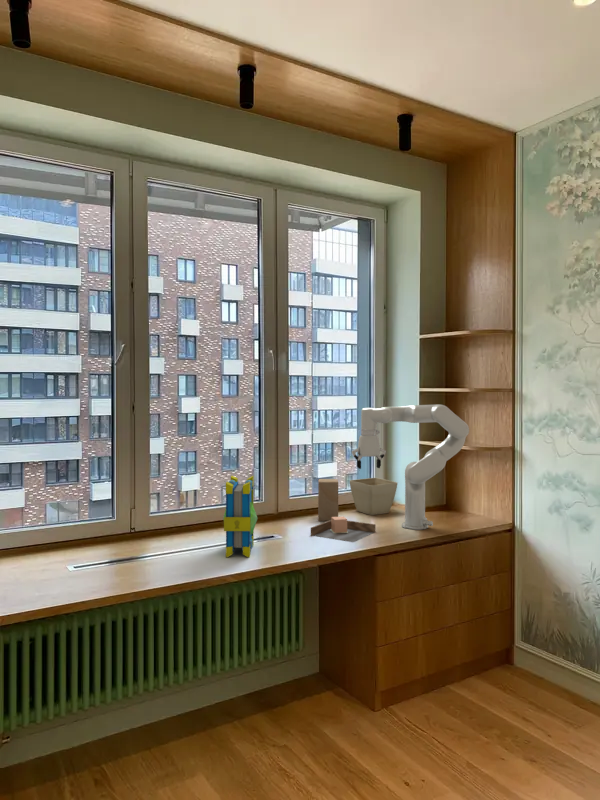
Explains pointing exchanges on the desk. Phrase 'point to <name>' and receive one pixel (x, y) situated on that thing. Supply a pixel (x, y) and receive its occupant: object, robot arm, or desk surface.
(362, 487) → the flower pot
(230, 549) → the decorative book
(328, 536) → the tray
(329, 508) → the wooden block
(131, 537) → the desk surface
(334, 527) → the cube
